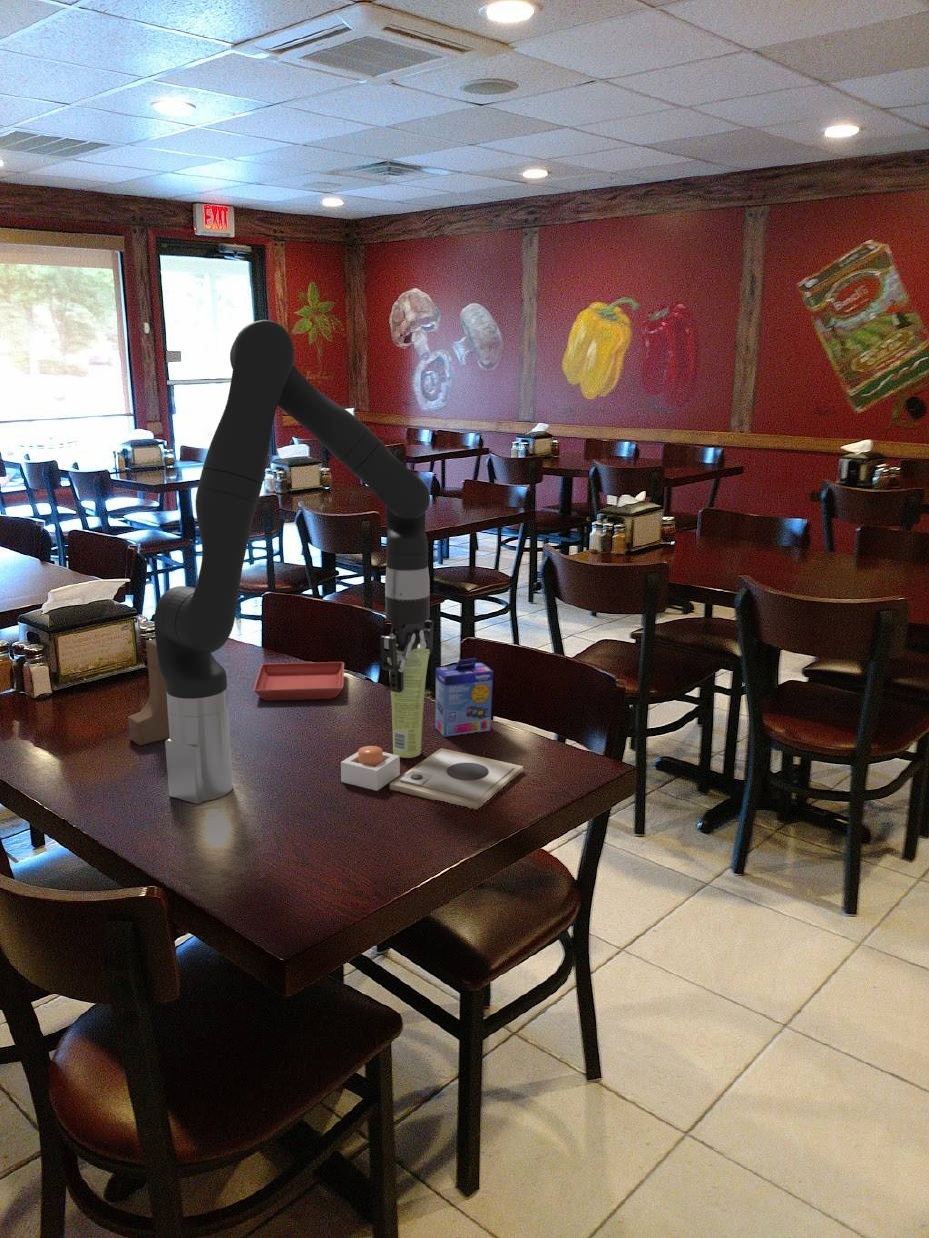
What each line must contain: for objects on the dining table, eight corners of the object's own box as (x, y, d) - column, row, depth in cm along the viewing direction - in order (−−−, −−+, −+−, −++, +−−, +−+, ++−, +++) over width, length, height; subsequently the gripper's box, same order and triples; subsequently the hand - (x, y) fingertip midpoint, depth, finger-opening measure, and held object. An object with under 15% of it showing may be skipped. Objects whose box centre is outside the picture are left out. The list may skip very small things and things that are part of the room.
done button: (374, 776, 159) (373, 757, 158) (353, 771, 161) (353, 752, 160) (387, 768, 162) (387, 748, 161) (367, 763, 164) (366, 744, 163)
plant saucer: (261, 677, 213) (261, 662, 212) (344, 674, 215) (344, 660, 214) (253, 705, 196) (252, 690, 195) (343, 703, 198) (343, 687, 197)
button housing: (376, 790, 157) (376, 770, 156) (341, 781, 160) (340, 762, 160) (399, 775, 163) (399, 755, 162) (364, 766, 166) (364, 747, 166)
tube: (412, 745, 176) (412, 641, 171) (429, 753, 172) (430, 648, 167) (387, 752, 172) (385, 647, 167) (403, 761, 169) (403, 654, 164)
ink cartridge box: (444, 738, 179) (444, 663, 175) (433, 728, 184) (433, 655, 180) (493, 731, 183) (494, 657, 179) (480, 721, 188) (482, 649, 184)
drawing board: (477, 811, 151) (477, 802, 150) (389, 789, 158) (389, 780, 157) (523, 771, 165) (523, 763, 165) (441, 753, 172) (441, 745, 172)
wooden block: (139, 746, 174) (131, 650, 169) (128, 739, 177) (120, 644, 172) (186, 734, 180) (179, 641, 175) (175, 727, 183) (168, 635, 178)
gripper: (404, 604, 157) (404, 701, 161) (447, 586, 169) (446, 677, 173) (365, 598, 160) (366, 694, 164) (410, 581, 172) (410, 670, 177)
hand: (407, 685), depth 169 cm, fingers open, 6 cm apart
